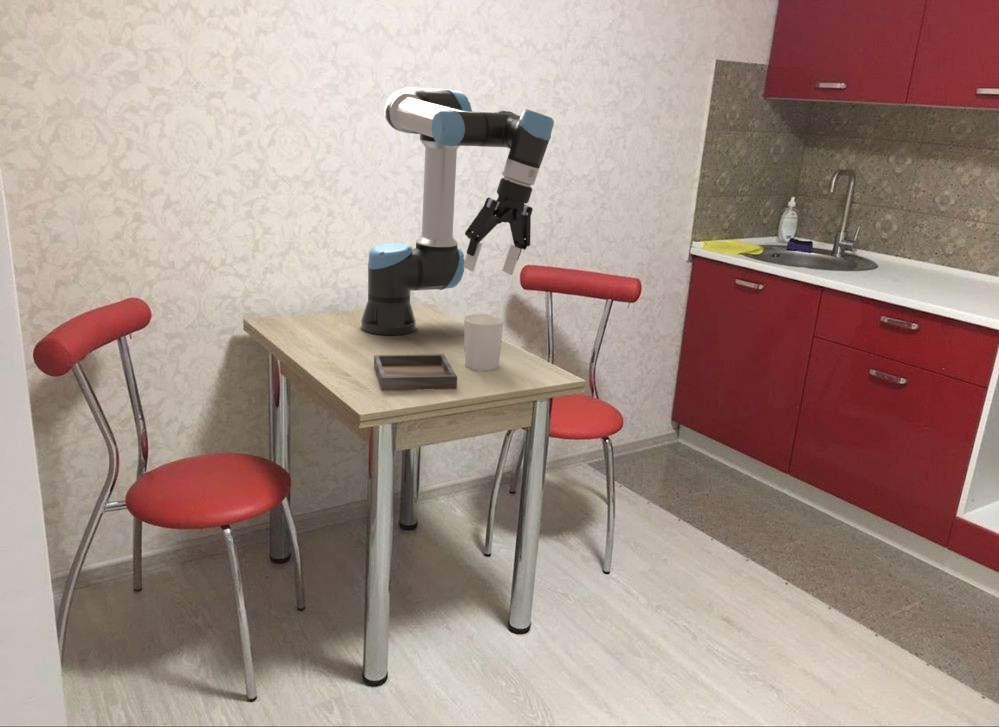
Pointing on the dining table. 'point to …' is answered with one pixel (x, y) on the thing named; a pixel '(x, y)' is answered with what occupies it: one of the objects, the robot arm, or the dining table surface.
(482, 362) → the candle holder
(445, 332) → the dining table surface
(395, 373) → the socket base
